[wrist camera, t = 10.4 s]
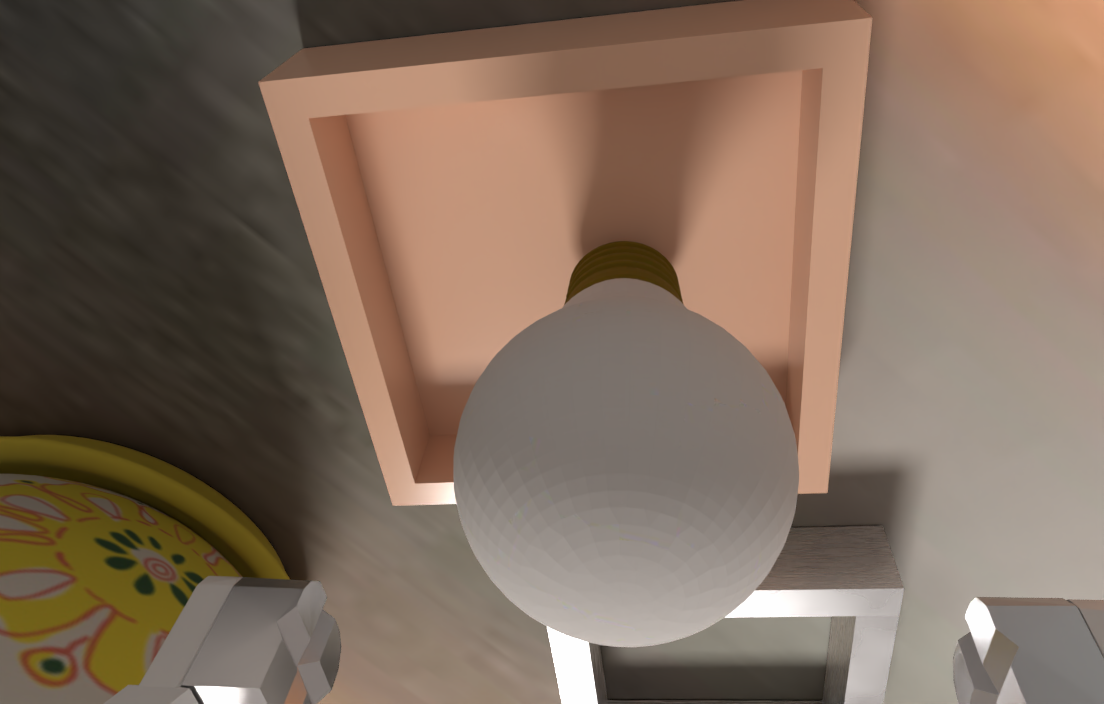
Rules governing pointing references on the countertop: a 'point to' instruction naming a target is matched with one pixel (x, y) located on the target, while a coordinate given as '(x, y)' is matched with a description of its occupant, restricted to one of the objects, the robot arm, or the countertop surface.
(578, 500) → the light bulb
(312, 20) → the countertop surface
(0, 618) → the flowerpot
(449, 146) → the tray
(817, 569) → the socket collar
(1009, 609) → the robot arm
